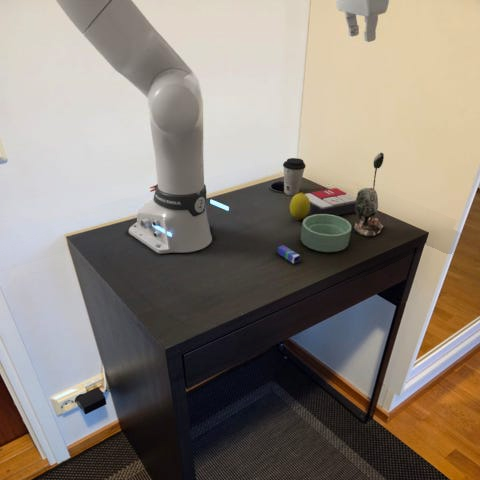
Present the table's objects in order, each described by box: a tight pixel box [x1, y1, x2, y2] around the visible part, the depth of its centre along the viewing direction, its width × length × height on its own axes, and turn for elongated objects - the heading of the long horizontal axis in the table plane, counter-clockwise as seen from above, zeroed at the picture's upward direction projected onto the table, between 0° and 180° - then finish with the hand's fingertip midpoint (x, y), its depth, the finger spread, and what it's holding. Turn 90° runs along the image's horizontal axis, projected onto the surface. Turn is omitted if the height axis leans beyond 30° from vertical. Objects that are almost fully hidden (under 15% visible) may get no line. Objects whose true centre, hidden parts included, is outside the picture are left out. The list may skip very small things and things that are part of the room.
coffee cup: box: [282, 157, 306, 196], centre depth 138 cm, size 7×7×10 cm
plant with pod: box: [353, 152, 385, 237], centre depth 115 cm, size 8×11×20 cm
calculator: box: [304, 187, 357, 217], centre depth 130 cm, size 11×4×15 cm
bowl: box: [300, 214, 353, 253], centre depth 114 cm, size 12×12×5 cm
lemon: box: [289, 192, 310, 221], centre depth 123 cm, size 6×6×8 cm
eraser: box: [277, 244, 301, 265], centre depth 108 cm, size 2×6×2 cm, turn 37°
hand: (361, 38), depth 92 cm, fingers open, 8 cm apart
